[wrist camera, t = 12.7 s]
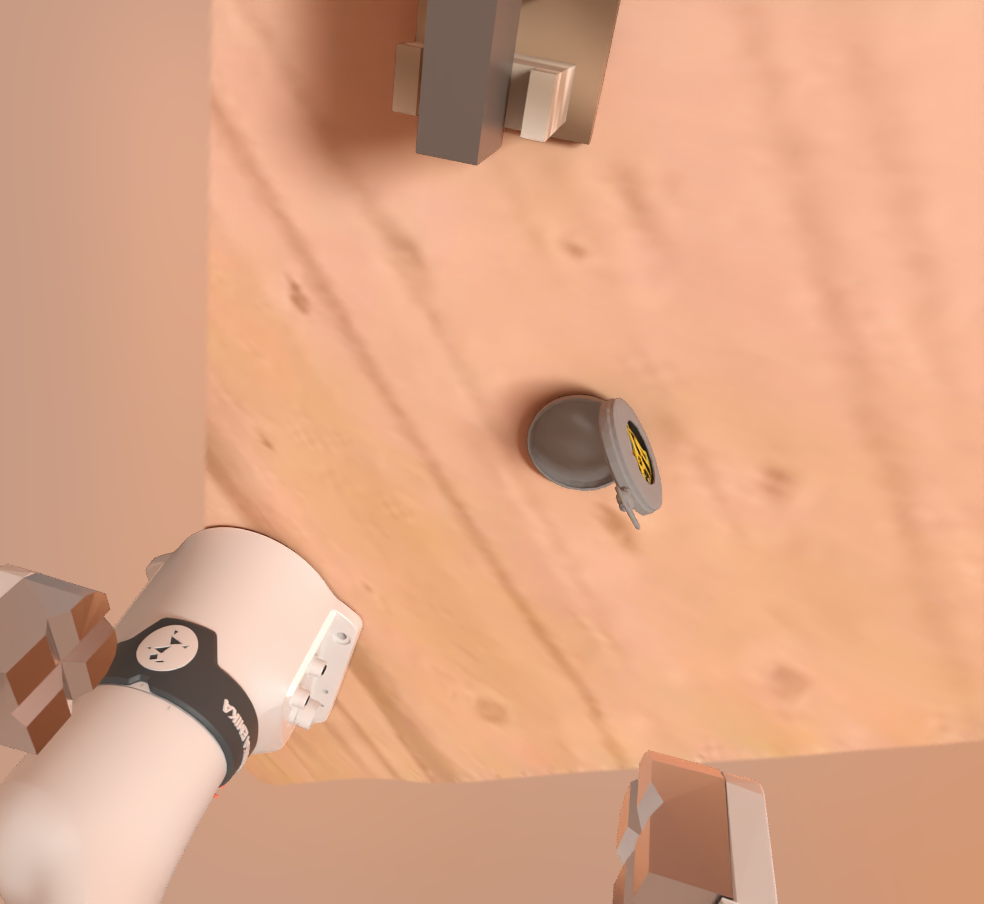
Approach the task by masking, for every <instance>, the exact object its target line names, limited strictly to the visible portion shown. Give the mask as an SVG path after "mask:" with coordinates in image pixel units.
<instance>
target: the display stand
mask: <svg viewBox="0 0 984 904" xmlns="http://www.w3.org/2000/svg"><path fill="white" fill-rule="evenodd" d="M619 5H620V0H522V4H521V11H520V18H519V25H518V32H517V39H516V46H515V53H514V60H513V67H512V74H511V81H510V88H509V95H508V102H507V109H506V117H505V124H504V128H509V129H514V130H519V131H521V136H520V137H521V138H526V139H531V140H536V141H541V142H545V141H546V140H547V139H548V138H549V137H553V138H558V139H563V140H568V141H573V142H578V143H583V144H588V145H589V143H590V141H591V137H592V132H593V127H594V123H595V118H596V113H597V109H598V104H599V99H600V94H601V90H602V85H603V80H604V76H605V71H606V66H607V61H608V57H609V52H610V47H611V43H612V38H613V33H614V29H615V24H616V19H617V14H618V10H619ZM426 13H427V0H418V12H417V26H416V39H415V42H410V43H401V44H396V57H395V74H394V90H393V106H392V111H393V112H398V113H403V114H408V115H413V116H417V115H419V104H420V91H421V78H422V65H423V52H424V39H425V26H426Z"/></svg>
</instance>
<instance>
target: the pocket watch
mask: <svg viewBox="0 0 984 904" xmlns="http://www.w3.org/2000/svg"><path fill="white" fill-rule="evenodd" d="M527 447H528V452H529V455H530V458H531V460H532V462H533V463H534V465H535V467H536V468H537V469H538V470H539V472H540V473H541V474H543V475H544V476H545V477H546V478H547V479H549V480H550V481H552V482H554V483H555V484H557V485H560V486H562V487H565V488H569V489H575V490H582V491H588V490H596V489H600V488H604V487H607V486H609V485H610V484H612V483H614V482H615V484H616V485H617V486H616V487H615V490H616V492H617V495H616V499H617V502H618V504H619V508H620V510H621V511H624V512H625V511H626V512H627V514H628V515H629V517H630V519H631V521H632V522H633V524H634V526H635V527H636V529H638V530H639V529H640V526H639V523H638V521H637V519H636V517H635V515H634V513H633V511H632V510H633V509H635V510H636V512H638V513H639V514H641V515H642V516H644V515H647V514H651V513H653V512H654V511H656V510H658V509H659V508H660V507H661V504H662V485H661V478H660V475H659V471H658V467H657V463H656V459H655V456H654V454H653V451H652V448H651V445H650V443H649V440H648V437H647V435H646V433H645V431H644V429H643V427H642V425H641V423H640V421H639V420H638V418H637V416H636V414H635V413H634V411H633V410H632V408H631V407H630V406H629V405H628V404H627V403H626V402H625V401H624V400H623V399H621V398H616V399H609V400H607V401H605V400H603V399H600V398H597V397H593V396H589V395H570V396H564V397H561V398H558V399H555V400H553V401H552V402H550V403H548V404H547V405H545V406H544V407H543V408H542V409H541V410H540V411H539V412H537V414H536V416H535V418H534V419H533V421H532V423H531V425H530V427H529V430H528V435H527Z"/></svg>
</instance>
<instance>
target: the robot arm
mask: <svg viewBox="0 0 984 904" xmlns="http://www.w3.org/2000/svg"><path fill="white" fill-rule="evenodd" d="M146 574H147V577H148V579H149V582H148V583H147V585H146V586H145V588H143V590H142V591H141V593H140V594H139V595H138V596H137V598H136V599H135V600H134V601H133V603H132V604H131V605H130V607H129V608H128V610H127V611H126V612H125V613H124V615H123V616H122V617H121V619H120V620H119V622H118V623H117V624H116V625H115V627H114V628H113V627H112V626H111V625H110V623H109V622H108V621H107V620H106V619H105V618H104V617H103V616H104V615H105V614H106V613H107V612H108V611H109V610H110V607H109V603H108V600H107V597H106V594H105V593H102V592H98V591H95V590H92V589H88V588H85V587H82V586H79V585H76V584H72V583H69V582H66V581H62V580H59V579H56V578H53V577H49V576H46V575H43V574H41V573H38V572H34V571H31V570H27V569H24V568H21V567H17V566H14V565H10V564H6V565H3V566H0V745H3V746H7V747H10V748H13V749H17V750H20V751H24V752H27V754H26V755H25V756H24V757H23V759H22V760H21V761H20V762H19V763H18V764H17V765H16V766H15V768H14V769H13V770H12V771H11V772H10V773H9V775H8V776H7V777H6V778H5V779H4V780H3V781H2V783H1V784H0V895H1V897H2V899H3V901H4V902H5V904H160V903H161V900H162V898H163V895H164V893H165V890H166V888H167V885H168V883H169V881H170V879H171V877H172V875H173V873H174V870H175V868H176V866H177V864H178V862H179V860H180V858H181V856H182V854H183V852H184V850H185V848H186V846H187V844H188V842H189V840H190V838H191V836H192V834H193V832H194V831H195V829H196V827H197V825H198V823H199V821H200V819H201V818H202V816H203V814H204V812H205V810H206V809H207V807H208V805H209V803H210V802H211V800H212V798H213V797H214V798H219V795H217V794H216V791H217V789H218V788H224V787H225V784H226V783H227V782H228V781H229V780H230V779H231V778H232V776H233V775H234V774H235V773H237V772H238V771H239V770H240V769H241V768H242V766H243V765H244V764H245V762H246V760H247V758H248V757H249V756H250V755H251V754H262V753H270V752H275V751H277V750H279V749H281V748H282V747H283V746H284V745H285V744H286V742H287V740H288V739H289V737H290V735H291V733H292V732H293V730H294V728H295V726H296V725H297V726H299V727H301V728H304V729H306V730H308V729H309V730H310V728H311V727H312V725H313V723H320V722H324V721H325V720H326V719H327V717H328V716H329V714H330V713H331V711H332V708H333V706H334V703H335V700H336V698H337V695H338V692H339V689H340V687H341V684H342V681H343V678H344V676H345V673H346V670H347V668H348V665H349V662H350V659H351V657H352V654H353V651H354V648H355V646H356V643H357V640H358V637H359V635H360V632H361V629H362V626H363V624H362V620H361V619H360V617H359V616H358V615H357V614H356V613H355V612H354V611H353V610H351V609H350V608H349V607H348V606H346V605H345V604H344V603H342V602H341V601H340V600H338V599H337V598H336V597H335V596H334V595H333V593H332V592H331V591H330V589H329V588H328V587H327V585H326V584H325V582H324V581H323V579H322V578H321V577H320V576H319V574H318V573H317V572H316V571H315V570H314V569H313V568H312V567H311V566H310V565H309V564H308V563H307V562H306V561H305V560H304V559H303V558H301V557H300V556H299V555H298V554H296V553H295V552H293V551H292V550H291V549H289V548H287V547H286V546H284V545H282V544H281V543H279V542H277V541H275V540H273V539H271V538H269V537H266V536H264V535H261V534H258V533H255V532H252V531H248V530H244V529H239V528H231V527H216V528H209V529H205V530H202V531H199V532H197V533H195V534H193V535H191V536H190V537H188V538H187V539H186V540H185V541H184V542H183V543H182V544H181V546H180V547H179V548H178V549H177V550H176V551H174V552H173V553H168V554H164V555H161V556H158V557H156V558H154V559H153V560H152V561H151V563H150V564H149V566H148V567H147V568H146ZM616 851H617V853H618V855H619V857H620V859H621V861H622V863H623V865H624V866H623V868H622V869H621V871H620V873H619V875H618V877H617V879H616V881H615V883H614V888H613V889H614V890H613V904H778V902H777V894H776V885H775V877H774V869H773V861H772V852H771V844H770V837H769V828H768V820H767V811H766V804H765V796H764V791H763V789H762V787H761V785H760V783H759V782H757V781H755V780H752V779H747V778H744V777H740V776H737V775H733V774H729V773H725V772H722V771H719V769H716V768H712V767H709V766H705V765H701V764H698V763H694V762H690V761H687V760H683V759H679V758H676V757H672V756H668V755H665V754H661V753H657V752H654V751H650V750H648V751H647V752H646V753H644V755H643V757H642V759H641V761H640V763H639V778H638V779H637V780H635V781H632V782H631V783H630V785H629V787H628V790H627V792H626V794H625V797H624V801H623V805H622V809H621V813H620V819H619V825H618V833H617V846H616Z"/></svg>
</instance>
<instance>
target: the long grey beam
mask: <svg viewBox="0 0 984 904" xmlns="http://www.w3.org/2000/svg"><path fill="white" fill-rule="evenodd" d="M521 4H522V0H427V13H426V26H425V39H424V52H423V65H422V78H421V91H420V104H419V117H418V129H417V142H416V153H418V154H423V155H428V156H433V157H438V158H443V159H448V160H452V161H457V162H462V163H467V164H472V165H478V164H480V163H481V162H482V161H483V160H485V159H486V158H487V157H489V156H490V155H491V154H493V153H494V152H495V151H496V150H498V149H499V148H500V147H501V145H502V138H503V131H504V124H505V117H506V109H507V102H508V95H509V88H510V81H511V74H512V67H513V60H514V53H515V46H516V39H517V32H518V25H519V18H520V11H521Z"/></svg>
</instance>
